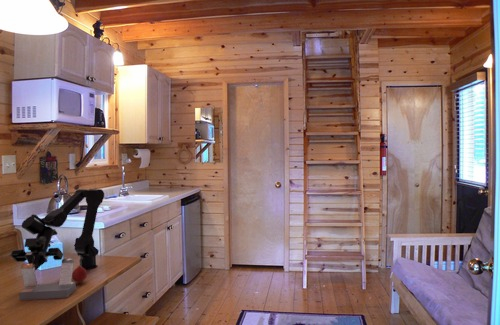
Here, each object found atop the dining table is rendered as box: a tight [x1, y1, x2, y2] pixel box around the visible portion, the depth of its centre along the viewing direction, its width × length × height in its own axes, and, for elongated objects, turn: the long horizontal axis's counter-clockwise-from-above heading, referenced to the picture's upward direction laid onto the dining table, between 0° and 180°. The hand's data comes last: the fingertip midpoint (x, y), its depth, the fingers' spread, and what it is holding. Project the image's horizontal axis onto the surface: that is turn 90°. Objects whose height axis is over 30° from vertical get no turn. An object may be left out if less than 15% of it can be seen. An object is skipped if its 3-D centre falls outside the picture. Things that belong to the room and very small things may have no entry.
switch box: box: [18, 281, 77, 301], centre depth 140 cm, size 8×18×3 cm, turn 95°
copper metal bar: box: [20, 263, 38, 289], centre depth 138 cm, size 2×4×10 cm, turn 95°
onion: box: [72, 264, 88, 284], centre depth 152 cm, size 6×6×8 cm
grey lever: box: [58, 258, 75, 285], centre depth 142 cm, size 2×4×10 cm, turn 94°
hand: (30, 273), depth 139 cm, fingers closed, pressing on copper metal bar
